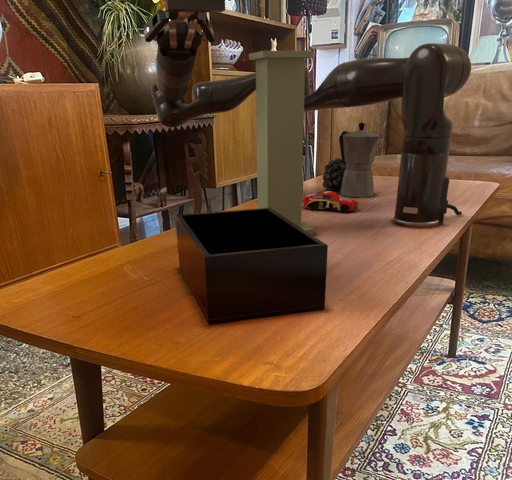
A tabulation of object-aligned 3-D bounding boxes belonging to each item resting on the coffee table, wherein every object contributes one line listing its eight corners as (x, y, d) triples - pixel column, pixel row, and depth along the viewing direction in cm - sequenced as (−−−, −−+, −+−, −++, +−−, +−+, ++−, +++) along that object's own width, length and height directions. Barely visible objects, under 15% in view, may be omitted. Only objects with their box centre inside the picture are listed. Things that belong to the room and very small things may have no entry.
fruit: (335, 160, 134) (352, 152, 146) (307, 169, 139) (325, 161, 151) (344, 193, 137) (359, 182, 149) (315, 200, 141) (333, 190, 153)
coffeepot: (386, 196, 136) (393, 123, 128) (357, 200, 132) (363, 124, 125) (350, 188, 149) (355, 120, 141) (323, 191, 145) (326, 121, 137)
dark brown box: (155, 20, 92) (154, -1, 91) (205, 21, 95) (204, 0, 93) (167, 9, 79) (165, -16, 77) (225, 10, 81) (224, -15, 79)
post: (245, 226, 109) (242, 54, 95) (294, 222, 112) (298, 54, 98) (261, 240, 100) (259, 50, 86) (314, 235, 102) (320, 50, 88)
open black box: (179, 268, 85) (175, 214, 81) (270, 259, 88) (270, 207, 85) (208, 325, 64) (204, 257, 60) (324, 310, 68) (328, 245, 64)
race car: (360, 209, 123) (362, 192, 121) (354, 214, 119) (355, 196, 117) (308, 204, 129) (309, 188, 127) (300, 209, 124) (301, 192, 122)
